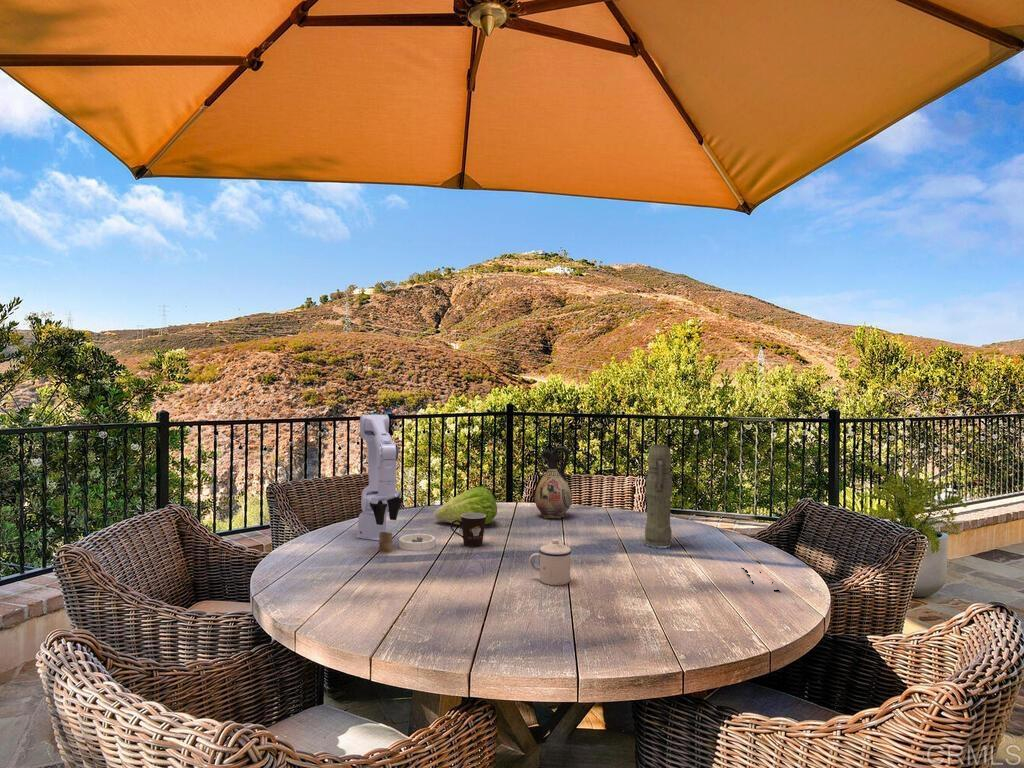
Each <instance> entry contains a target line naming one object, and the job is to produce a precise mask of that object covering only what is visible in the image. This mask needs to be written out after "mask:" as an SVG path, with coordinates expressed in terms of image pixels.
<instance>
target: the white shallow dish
mask: <svg viewBox="0 0 1024 768" xmlns="http://www.w3.org/2000/svg"><path fill="white" fill-rule="evenodd" d="M398 547H399V549H401V550H405V551H410V552H415V551H416V552H418V551H419V552H421V551H422V552H423V551H427V550H432V549H433V548H435V547H436V536H434V535H431V534H427V533H410V534H404V535H402V536H400V537H399V539H398Z"/></svg>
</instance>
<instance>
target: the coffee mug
mask: <svg viewBox="0 0 1024 768" xmlns="http://www.w3.org/2000/svg"><path fill="white" fill-rule="evenodd" d="M485 520H486V515H485V514H481V513H466V514H462V515H461V521H459V520H455V521H453V522H452V523H450V529H451V531H452V532H453V533H454V534H456V535H458V537H459V536H460V537H461V538H462V540H463V542H462V543H463V546H464V547H467V548H479V547H482V546H483V542H484V535H485V526H486V524H485ZM455 522H459V523H460V524H461V525H460V526H461V529H462V530H461V531H462V534H460V533H459V532H457V531H456V530H454V528H453V525H454V524H453V523H455Z"/></svg>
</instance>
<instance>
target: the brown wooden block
mask: <svg viewBox="0 0 1024 768" xmlns="http://www.w3.org/2000/svg"><path fill="white" fill-rule="evenodd" d="M378 551H379V552H383V553H389V554H390V553H392V552H393V532H387V531H386V532H380V533H379V540H378Z"/></svg>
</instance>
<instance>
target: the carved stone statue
mask: <svg viewBox="0 0 1024 768" xmlns="http://www.w3.org/2000/svg"><path fill="white" fill-rule="evenodd" d="M671 453H672V452H671V451H670V447H669V446H668V445H666V444H653V445H651V446H650V448H649V451H648V464H647V465H648V471H647V472H648V473H647V477H646V480H645V484H646V485H645V486H646V487H645V495H646V498H647V499H646V500H647V501H646V502H647V503H646V504H647V505H646V524H645V528H644V537H645V542H646V544H648V545H652V546H669V545H670V544H671V543H672V542H671V541H672V534H673V533H672V532H673V531H672V528H671V498H672V496H673V479H672V476H671V473H672V472H671V467H672V465H671V464H672V462H671V461H672V454H671ZM646 544H645V545H646Z"/></svg>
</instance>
